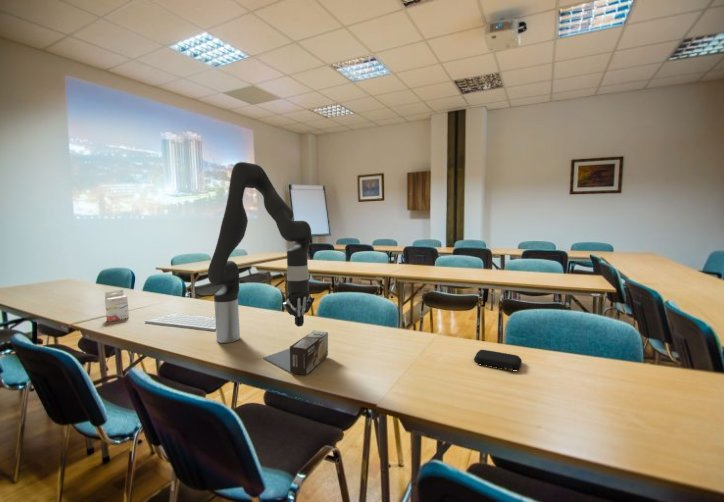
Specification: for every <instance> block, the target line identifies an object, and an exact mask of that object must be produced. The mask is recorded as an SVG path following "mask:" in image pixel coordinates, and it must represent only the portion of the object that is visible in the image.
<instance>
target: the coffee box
mask: <svg viewBox="0 0 724 502" xmlns="http://www.w3.org/2000/svg"><path fill="white" fill-rule="evenodd" d="M289 348H290V372H293V373H294V374H297V375H298V374H299V375H308V374H309V373H310V372H311V371H312V370H313V369H314V368H316V367H317V365H319V364H320V363H322V362H321V361H322V360H323V361H324V359H326V358H327V357H328V355H329V333H328V331H323V330H312V331H311V332H309V333H308V334H306V335H305V336H303V337H302V338H301V339H299V340H297V341H296V342H294V343H293V344H292V345H290V346H289Z"/></svg>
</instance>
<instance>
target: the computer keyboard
mask: <svg viewBox="0 0 724 502" xmlns="http://www.w3.org/2000/svg"><path fill="white" fill-rule="evenodd" d="M180 314H181V315H180ZM189 315H190V314H185V315H182V313H176V314H174V313H171V314H167V315H163V316H159V317H155V318H152V319H147V320H144V324H150V325H156V326H157V325H158V326H159V325H160V326H166V327H173V328H174V327H175V328H184V329H191V330H200V331H208V332H209V331H210V332H216V321H215V317H212V318H209V317H210V316H202V315H194V316H189Z"/></svg>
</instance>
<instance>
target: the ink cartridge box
mask: <svg viewBox="0 0 724 502" xmlns="http://www.w3.org/2000/svg"><path fill="white" fill-rule="evenodd" d="M104 295H105V296H104V305H105V315H106V316H105V317H106V322H107V321H108V322H109V323H110V322H111V323H112V322H115V321H116V320H117V321H122V320H126V319H129V318H130V316H129V314H130V313H129V302H128V300H129V299H128V295H124V289H118V290H117V289H116V290H112V291H105V292H104ZM125 318H126V319H125ZM121 319H122V320H121Z"/></svg>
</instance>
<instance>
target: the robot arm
mask: <svg viewBox="0 0 724 502" xmlns="http://www.w3.org/2000/svg"><path fill="white" fill-rule="evenodd" d="M228 187H229V188H228V196H227V201H226V205H225V210H224V214H223V217H222V222H221V225H220V230H219V235H218V238H217V243H216V245H215V249H214V252H213V254H212V258H211V260H210V263H209V266H208V271H207V278H208V281H209V283H210V284H211V285H213V286H222V287H221V288H220V289H219V290H217V292H215V293H214V295H213V301H214V303H213V304H214V316H215V317H214V318H215V321H216V331H215V332H216V333H215V334H216V342H217V343H220V344H227V343H228V344H229V343H233V342H237V341H238V340H240V338H241V333H240V331H241V330H240V328H241V327H240V314H239V292H240V270H239V267H238V264H237V263H236V262H235V261H233V260H229V259H230V256H231V255H232V253H233V252H234V251H235V249H236V248H237V247H238V246H239V245H240V243H241V242H242V241H243V239H244V238H245V235H246V231H247V227H248V223H249V221H248V220H249V219H248V216H247V212H246V209H245V206H244V194H245V190H246V188H247V189H255V190H257V191H258V192H259V193H260V194H261V196H262V197H263V206H264V209H265V210H266V212H267V214H268V215H269V216H270V217H271V218H272V220H274V221H275V224H276V227H277V229H278V231H279V232H278V233H279V234H280V235H281V237H282V239H283V240H284V241H287V242H290V243H291V242H292V243H293V242H294V246H293V247H290V248H288V250H287V251H286V284H287V286H286V287H287V289H286V291H287V297H286V298H287V300H285V301H284V302H282V303H281V306H282V307H283V309H284V310H285V311H286V312H287V313H288V314H289V316H293V317H294V324H295V326H296V327H298V328H299V327H302V326H303V325H304V324H305V317H304V316H305V314H307V313H309V311H310V309H311V307H312V305H313V303H314V302H315V297H313V296H311V295H310V292H309V290H310V281H309V280H310V277H309V275H310V274H309V265H308V252H309V248H310V244H311V243H310V242H311V238H312V229H311V228H312V227H311V226H310V224H309V223H308V222H307V221H306V220H293V218H294V212H293V210H292V209H291V207H290V206H289V205H288V204H287V203H286V202H285V201H284V199H283V198H282V197H281V196H280V194H279V193H278V192H277V189H275V187H274V184H273V183H272V181H271V180H270V178H269V177H268V174H267V173H266V171H265V169H263V167H262V166H260V165H259V164H256V163H250V162H245V161H238V162H236V163H234V164H233V167H232V170H231V174H230V180H229V186H228Z"/></svg>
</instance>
